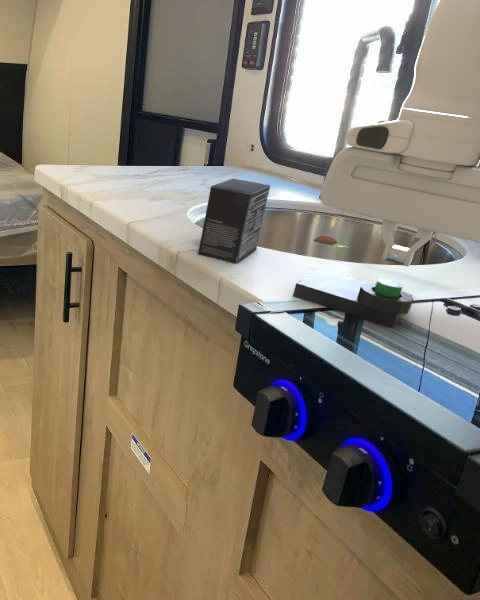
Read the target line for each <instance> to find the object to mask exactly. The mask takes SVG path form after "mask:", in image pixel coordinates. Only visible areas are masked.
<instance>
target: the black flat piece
mask: <svg viewBox="0 0 480 600" xmlns="http://www.w3.org/2000/svg"><path fill="white" fill-rule="evenodd" d="M375 286H376V283H374V282H370V281H366V280H363V279H359V278H356V277H352V276H348V275H345V274H342V273H338V272H335V271H331V270H328V269H324V268H321V267H319V268H317V269H316V270H314V271H313V272H311V273H310V274H308V275H307V276H305V277H303V278H302V279H300V280H299V281H297V282H296V283H295V286H294V290H293V293H292V297H293V298H297V299H300V300H302V301H306V302H308V303H311V304H314V305H318V306H321V307H325V308H327V309H331V310H334V311H337V312H340V313H342V314H343V313H344V314H346V315H349V316H353V317H355V318H359V319H362V320H365V321H368V322H371V323H374V324H377V325H381V326H384V327H386V328H387V327H388V328H389V329H394V327H395V326H396V325H397V323H398V322H399V320H400V319H401V318H402V316H403V315H407V314H408V313H409V312H410V310H411V307H412V305H413V302H414V297H413V294H411V293H408V292H405V291H404V290H401V293H400V296H399V298H392V297H387V296H384V295H380V294H378V293H376V292H374V289H375Z"/></svg>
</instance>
